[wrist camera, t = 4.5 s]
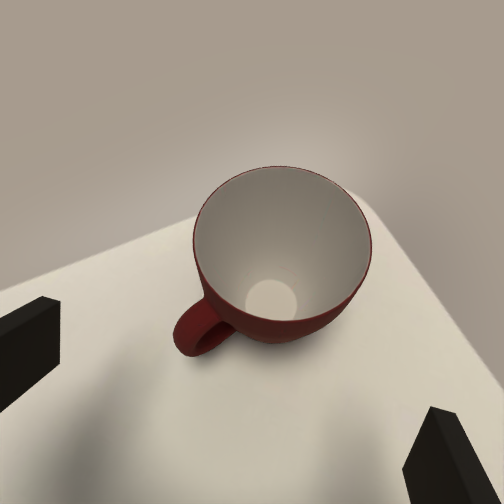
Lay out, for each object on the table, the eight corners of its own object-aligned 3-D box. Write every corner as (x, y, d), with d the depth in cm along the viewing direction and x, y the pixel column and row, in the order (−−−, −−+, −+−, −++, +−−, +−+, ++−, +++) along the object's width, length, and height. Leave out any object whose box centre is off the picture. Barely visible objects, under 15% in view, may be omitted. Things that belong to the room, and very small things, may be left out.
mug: (244, 423, 21) (239, 420, 12) (162, 329, 23) (107, 270, 15) (351, 305, 24) (410, 235, 15) (269, 235, 27) (278, 140, 18)
